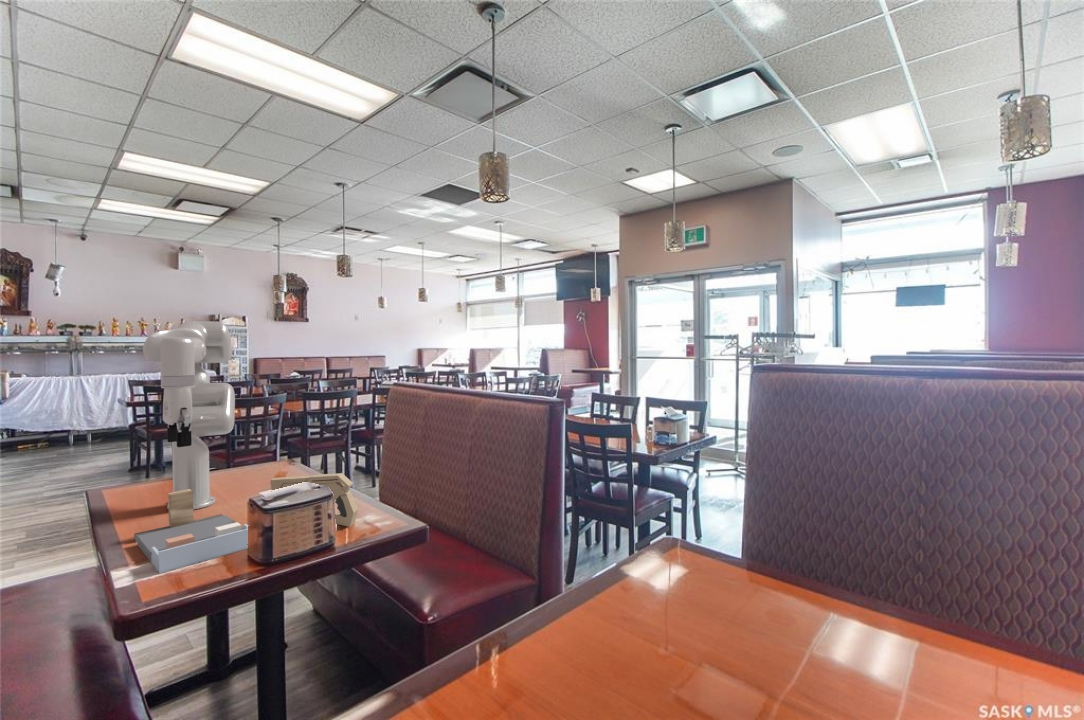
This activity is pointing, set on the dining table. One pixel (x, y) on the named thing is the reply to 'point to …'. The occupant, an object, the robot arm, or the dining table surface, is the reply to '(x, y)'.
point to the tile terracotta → (179, 541)
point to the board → (197, 529)
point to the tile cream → (227, 529)
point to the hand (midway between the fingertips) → (179, 443)
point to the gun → (336, 485)
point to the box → (199, 551)
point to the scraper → (179, 511)
